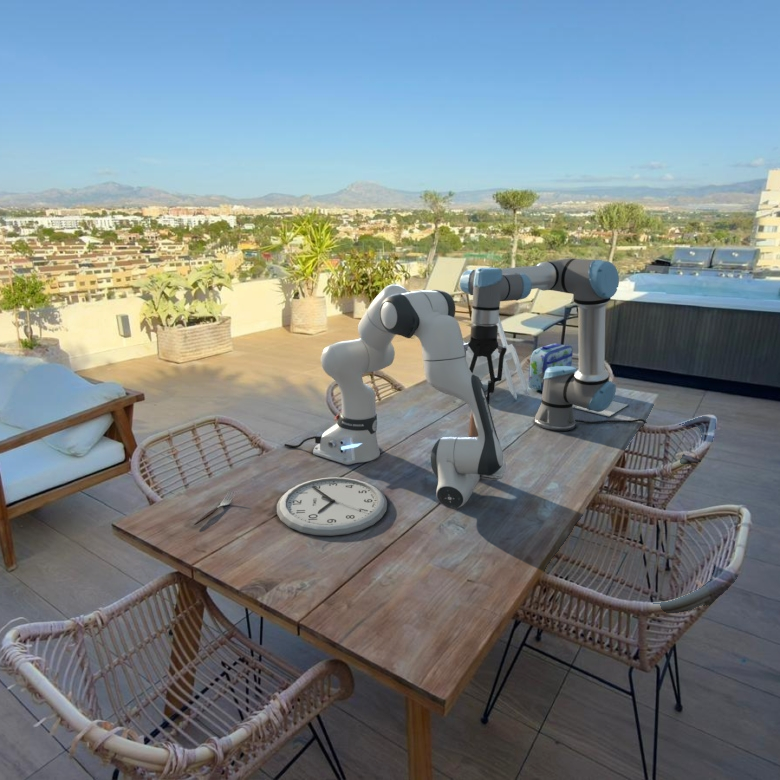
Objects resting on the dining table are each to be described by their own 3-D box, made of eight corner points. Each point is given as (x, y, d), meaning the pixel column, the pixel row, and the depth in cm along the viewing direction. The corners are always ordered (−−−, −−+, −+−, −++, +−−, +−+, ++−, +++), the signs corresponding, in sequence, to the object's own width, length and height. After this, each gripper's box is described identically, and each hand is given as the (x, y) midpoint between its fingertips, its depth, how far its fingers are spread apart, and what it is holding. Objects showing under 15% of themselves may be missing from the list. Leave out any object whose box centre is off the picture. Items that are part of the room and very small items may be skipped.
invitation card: (608, 416, 214) (573, 407, 224) (608, 416, 214) (573, 408, 224) (628, 404, 229) (594, 396, 238) (628, 405, 229) (594, 397, 238)
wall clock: (392, 527, 129) (268, 531, 127) (391, 533, 130) (269, 537, 127) (383, 473, 158) (282, 475, 155) (383, 478, 158) (282, 480, 156)
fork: (190, 525, 132) (189, 518, 131) (229, 496, 146) (228, 490, 145) (198, 527, 131) (198, 520, 130) (237, 498, 145) (236, 491, 145)
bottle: (471, 470, 165) (477, 393, 157) (484, 475, 162) (490, 396, 154) (463, 475, 161) (468, 396, 154) (476, 480, 158) (481, 400, 151)
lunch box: (544, 395, 239) (549, 351, 233) (524, 390, 247) (528, 347, 240) (571, 384, 257) (577, 343, 251) (552, 380, 264) (556, 339, 258)
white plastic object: (461, 429, 252) (437, 405, 227) (444, 352, 274) (420, 323, 250) (535, 404, 240) (518, 377, 215) (510, 326, 262) (492, 293, 237)
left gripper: (502, 469, 144) (510, 450, 156) (431, 456, 151) (444, 439, 163) (500, 489, 145) (509, 469, 158) (430, 476, 153) (443, 458, 165)
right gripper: (515, 323, 149) (509, 400, 156) (454, 320, 153) (450, 396, 160) (516, 327, 142) (509, 408, 149) (452, 324, 146) (448, 403, 153)
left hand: (475, 454), depth 160 cm, fingers closed on bottle, 5 cm apart
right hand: (479, 402), depth 154 cm, fingers closed on cap, 4 cm apart
